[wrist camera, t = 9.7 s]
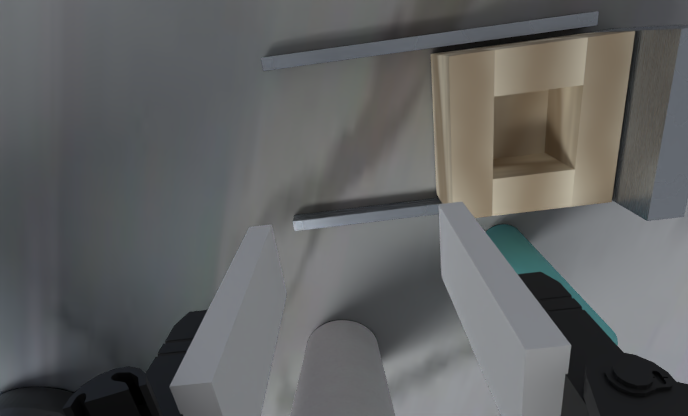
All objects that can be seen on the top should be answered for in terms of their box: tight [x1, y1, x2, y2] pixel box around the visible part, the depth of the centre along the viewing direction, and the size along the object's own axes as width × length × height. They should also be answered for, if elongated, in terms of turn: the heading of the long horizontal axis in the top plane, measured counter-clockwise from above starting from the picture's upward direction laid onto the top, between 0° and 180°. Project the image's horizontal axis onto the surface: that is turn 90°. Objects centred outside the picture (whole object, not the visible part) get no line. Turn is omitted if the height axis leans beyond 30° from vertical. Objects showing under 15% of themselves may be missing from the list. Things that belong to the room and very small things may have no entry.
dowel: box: [486, 224, 618, 345], centre depth 27 cm, size 3×3×12 cm
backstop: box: [261, 11, 688, 231], centre depth 25 cm, size 23×12×8 cm, turn 97°
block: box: [431, 31, 635, 218], centre depth 26 cm, size 10×10×5 cm
